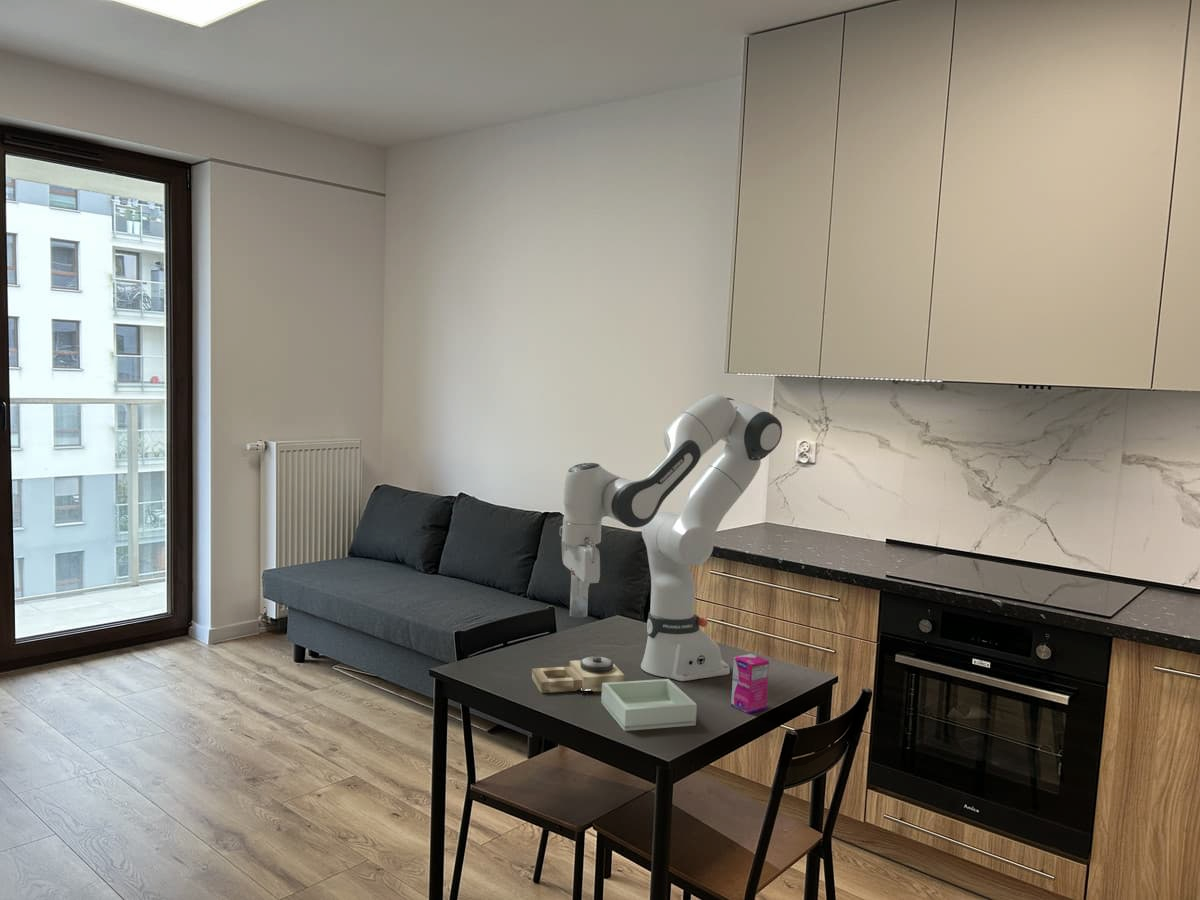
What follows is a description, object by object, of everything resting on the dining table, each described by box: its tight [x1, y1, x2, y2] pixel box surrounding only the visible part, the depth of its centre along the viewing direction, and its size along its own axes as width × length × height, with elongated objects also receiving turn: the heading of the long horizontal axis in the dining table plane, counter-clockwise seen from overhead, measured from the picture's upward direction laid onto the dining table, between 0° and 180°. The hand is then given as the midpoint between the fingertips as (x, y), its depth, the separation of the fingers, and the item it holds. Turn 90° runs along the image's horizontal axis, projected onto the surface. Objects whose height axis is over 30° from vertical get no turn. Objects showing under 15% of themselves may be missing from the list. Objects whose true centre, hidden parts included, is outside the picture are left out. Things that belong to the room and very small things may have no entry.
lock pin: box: [569, 567, 589, 619], centre depth 200 cm, size 4×4×11 cm
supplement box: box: [730, 653, 770, 715], centre depth 196 cm, size 6×6×12 cm
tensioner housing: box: [531, 656, 626, 694], centre depth 207 cm, size 20×12×6 cm, turn 107°
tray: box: [600, 678, 698, 732], centre depth 190 cm, size 16×16×4 cm
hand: (579, 593), depth 201 cm, fingers closed on lock pin, 4 cm apart
